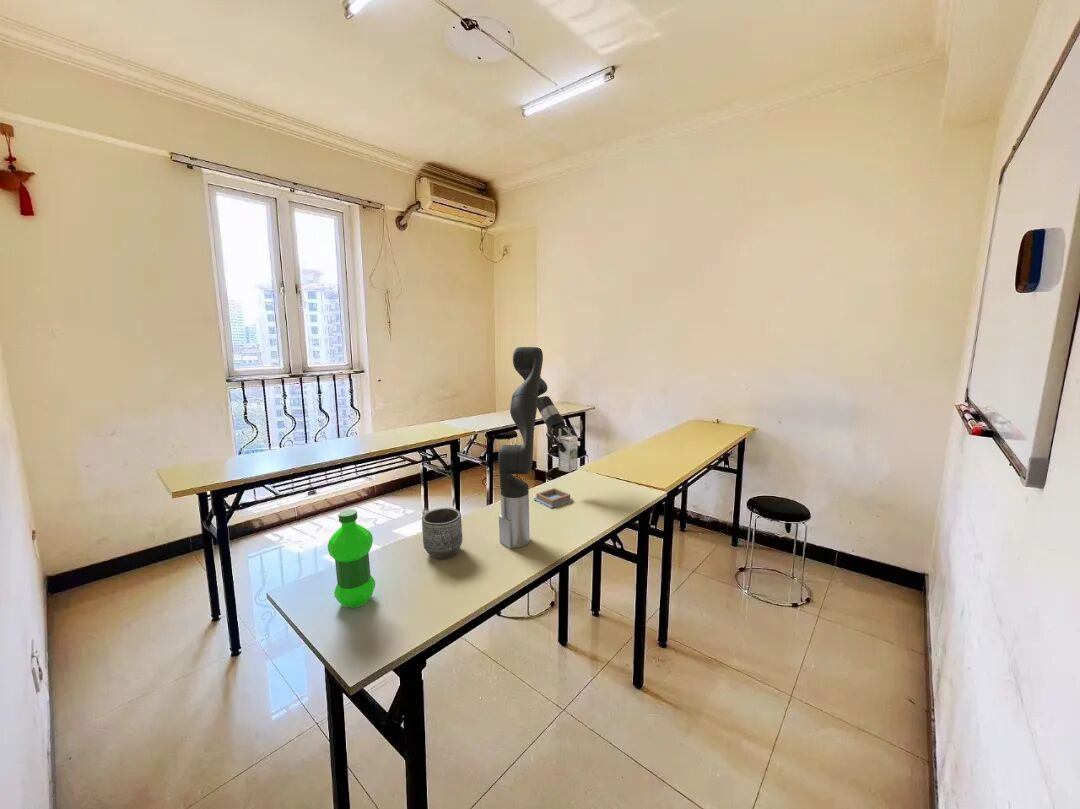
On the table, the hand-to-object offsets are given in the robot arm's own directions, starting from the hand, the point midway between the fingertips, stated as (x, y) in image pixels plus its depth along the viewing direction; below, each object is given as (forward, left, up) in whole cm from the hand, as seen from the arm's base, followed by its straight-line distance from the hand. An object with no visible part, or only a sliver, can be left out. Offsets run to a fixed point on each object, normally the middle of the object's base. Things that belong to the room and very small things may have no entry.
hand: (570, 450), depth 176 cm
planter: (-62, -7, -21) cm, 66 cm away
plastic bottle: (-91, -15, -21) cm, 95 cm away
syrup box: (0, +2, -9) cm, 9 cm away
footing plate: (-8, +2, -21) cm, 22 cm away
